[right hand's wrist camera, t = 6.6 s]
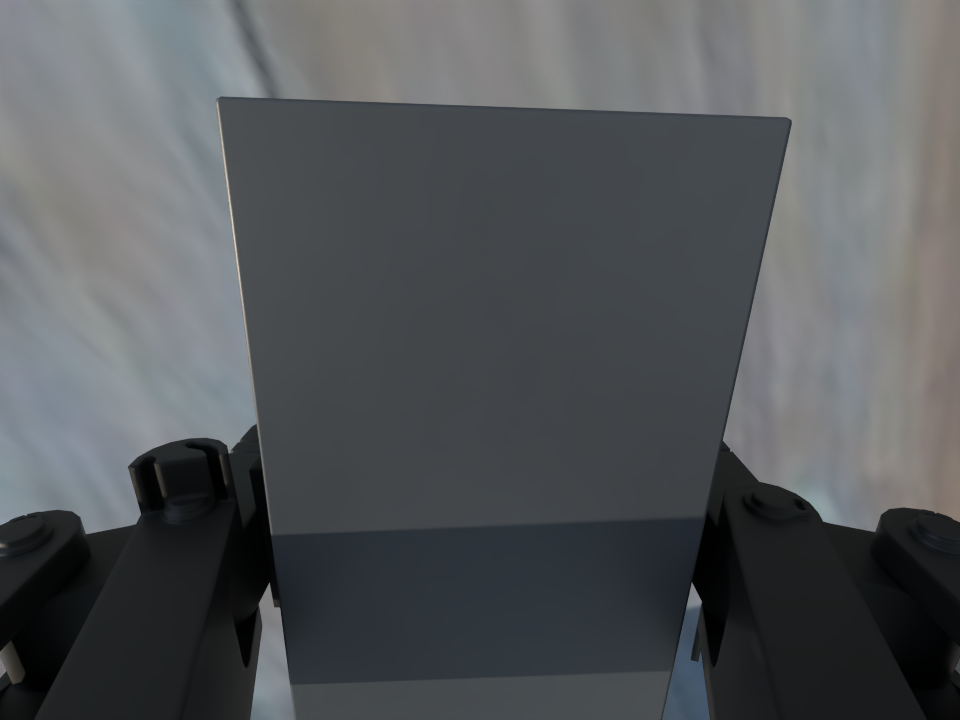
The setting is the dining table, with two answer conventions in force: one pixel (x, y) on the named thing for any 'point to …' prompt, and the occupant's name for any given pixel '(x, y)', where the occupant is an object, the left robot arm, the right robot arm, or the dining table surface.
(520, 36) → the dining table surface
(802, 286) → the dining table surface
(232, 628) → the right robot arm
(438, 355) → the bar
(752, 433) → the dining table surface
